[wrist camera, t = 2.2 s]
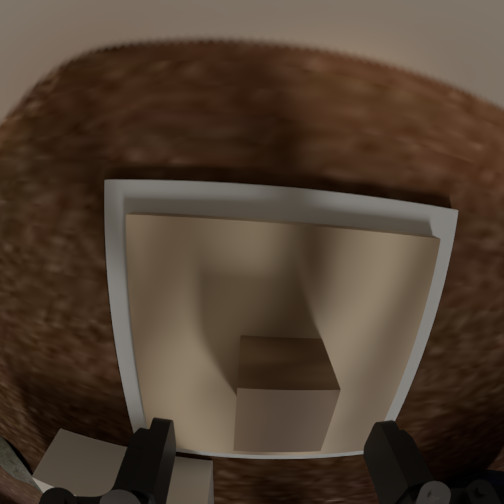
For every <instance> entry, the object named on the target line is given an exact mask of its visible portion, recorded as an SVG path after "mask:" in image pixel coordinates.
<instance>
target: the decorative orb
mask: <svg viewBox="0 0 504 504" xmlns="http://www.w3.org/2000/svg"><path fill="white" fill-rule="evenodd" d="M478 479H482V480H486V481H488V482H489V483H490V484H491V485H492V486H493V488H494V490H495V492H496V494H497V496H498V498H499V500H500V502H501V504H504V472H502V471H495V470H485V471H482V472H479V473H475V474H472V475H469V476H465V477H461V478H458V479H457V480H456V481H455V482H454V483H452V484H451V485H450V486H449V487H448V488H467V487H468V486H469V485H470V483H471V482H473V481H475V480H478Z"/></svg>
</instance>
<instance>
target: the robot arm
mask: <svg viewBox="0 0 504 504" xmlns="http://www.w3.org/2000/svg"><path fill="white" fill-rule="evenodd" d="M363 453H364V459H365V461H366V464H367V467H368V470H369V473H370V475H371V478H372V481H373V484H374V487H375V490H376V493H377V495H378V498H379V501H380V504H501V502H500V500H499V498H498V496H497V494H496V492H495V490H494V488H493V486H492V485H491V484H490V483H489V482H488V481H486V480H482V479H478V480H475V481H473V482H471V483H470V485H469V486H468V487H467V488H448V487H447V486H446V485H445V484H444V483H442V482H439V481H435V480H434V478H433V476H432V474H431V473H430V471H429V469H428V467H427V465H426V463H425V461H424V459H423V457H422V455H420V451H419V449H418V448H417V445H416V444H415V442H414V440H413V438H412V437H411V436H410V435H409V434H408V433H407V432H406V431H405V430H399V428H398V426H397V425H396V423H395V421H393V420H388V421H381V422H376V423H375V424H374V425H373V427H372V430H371V432H370V434H369V436H368V438H367V440H366V443H365V445H364V450H363ZM175 456H176V438H175V430H174V422H173V420H170V419H163V418H157V417H154V418H153V420H152V423H151V426H150V429H145V428H139V429H138V430H137V431H136V432H135V433H134V434H133V435H132V436H131V438H130V441H129V444H128V448H127V449H126V452H125V456H124V457H123V460H122V463H121V466H120V469H119V472H118V474H117V477H116V480H115V483H114V485H113V487H112V489H111V490H110V491H109V492H107V493H105V494H104V495H101V496H97V497H85V496H74V495H73V494H72V493H71V492H70V491H69V490H67V489H64V488H60V487H54V488H50V489H48V490H46V491H45V492H44V493H43V495H42V497H41V499H40V502H39V504H166V501H167V496H168V491H169V486H170V481H171V476H172V471H173V466H174V461H175Z"/></svg>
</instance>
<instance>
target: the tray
mask: <svg viewBox="0 0 504 504" xmlns="http://www.w3.org/2000/svg"><path fill="white" fill-rule="evenodd" d="M130 212H151V213H172V214H191V215H208V216H225V217H240V218H254V219H268V220H281V221H294V222H306V223H318V224H329V225H340V226H350V227H361V228H371V229H381V230H390V231H399V232H408V233H417V234H426V235H433V236H435V237H438V238H440V239H441V240H440V246H439V251H438V256H437V261H436V265H435V270H434V274H433V279H432V283H431V287H430V291H429V295H428V299H427V302H426V306H425V310H424V313H423V317H422V320H421V324H420V327H419V330H418V333H417V337H416V340H415V343H414V346H413V349H412V352H411V355H410V358H409V360H408V363H407V366H406V369H405V371H404V374H403V377H402V379H401V382H400V385H399V387H398V390H397V392H396V395H395V397H394V399H393V402H392V404H391V406H390V409H389V411H388V413H387V416H386V418H385V420H384V421H388V420H393V421H395V420H396V418H397V415H398V413H399V411H400V409H401V407H402V404H403V402H404V400H405V398H406V395H407V393H408V391H409V388H410V386H411V383H412V381H413V378H414V376H415V373H416V371H417V368H418V365H419V363H420V360H421V357H422V355H423V352H424V349H425V346H426V343H427V340H428V337H429V334H430V331H431V328H432V325H433V321H434V318H435V315H436V311H437V308H438V304H439V301H440V297H441V293H442V290H443V286H444V282H445V277H446V273H447V269H448V264H449V260H450V255H451V250H452V245H453V240H454V234H455V229H456V223H457V216H458V210H455V209H451V208H445V207H440V206H434V205H428V204H422V203H415V202H409V201H402V200H396V199H389V198H382V197H374V196H367V195H359V194H351V193H342V192H334V191H325V190H315V189H305V188H295V187H283V186H271V185H258V184H244V183H228V182H210V181H187V180H153V179H107V180H105V183H104V217H105V247H106V264H107V277H108V289H109V299H110V308H111V316H112V324H113V332H114V339H115V345H116V352H117V358H118V363H119V369H120V374H121V380H122V385H123V390H124V394H125V399H126V404H127V408H128V412H129V417H130V421H131V425H132V429H133V433H135V432H136V431H137V430H138V429H139V428H145V429H148V428H147V423H146V418H145V413H144V407H143V402H142V396H141V390H140V384H139V378H138V372H137V365H136V358H135V350H134V342H133V333H132V324H131V314H130V303H129V290H128V275H127V254H126V214H128V213H130ZM176 451H177V452H184V453H192V454H200V455H210V456H221V457H235V458H255V459H303V458H323V457H337V456H348V455H357V454H364V453H363V451H354V452H344V453H332V454H316V455H244V454H228V453H216V452H205V451H196V450H188V449H181V448H176Z"/></svg>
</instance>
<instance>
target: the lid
mask: <svg viewBox="0 0 504 504" xmlns="http://www.w3.org/2000/svg"><path fill="white" fill-rule="evenodd" d="M440 240H441V239H440V238H438V237H435V236H433V235H426V234H417V233H408V232H399V231H390V230H381V229H371V228H361V227H350V226H340V225H329V224H318V223H306V222H294V221H281V220H268V219H254V218H240V217H225V216H208V215H191V214H172V213H151V212H130V213H128V214H126V254H127V275H128V290H129V303H130V314H131V324H132V333H133V342H134V350H135V358H136V365H137V372H138V378H139V384H140V390H141V396H142V402H143V407H144V413H145V418H146V423H147V428H148V429H150V426H151V423H152V420H153V418H154V417H157V418H163V419H170V420H173V422H174V430H175V438H176V448H181V449H188V450H196V451H205V452H216V453H228V454H244V455H316V454H332V453H344V452H354V451H363V450H364V445H365V443H366V440H367V438H368V436H369V434H370V432H371V430H372V427H373V425H374V424H375V423H376V422H381V421H384V420H385V418H386V416H387V413H388V411H389V409H390V406H391V404H392V402H393V399H394V397H395V395H396V392H397V390H398V387H399V385H400V382H401V379H402V377H403V374H404V371H405V369H406V366H407V363H408V360H409V358H410V355H411V352H412V349H413V346H414V343H415V340H416V337H417V333H418V330H419V327H420V324H421V320H422V317H423V313H424V310H425V306H426V302H427V299H428V295H429V291H430V287H431V283H432V279H433V274H434V270H435V265H436V261H437V256H438V251H439V246H440Z"/></svg>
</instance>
